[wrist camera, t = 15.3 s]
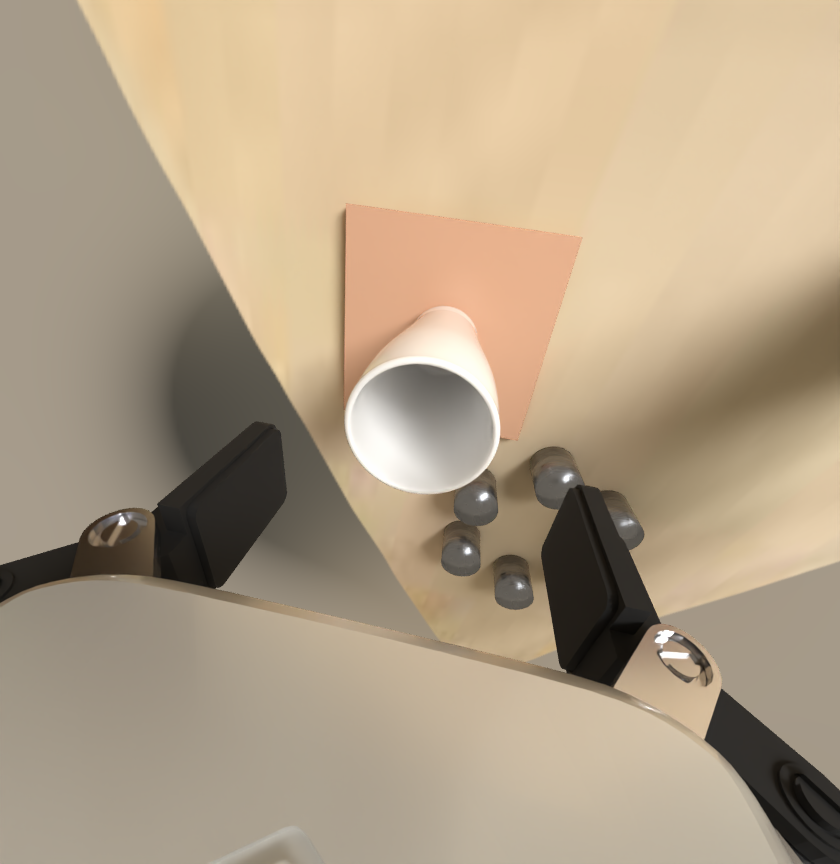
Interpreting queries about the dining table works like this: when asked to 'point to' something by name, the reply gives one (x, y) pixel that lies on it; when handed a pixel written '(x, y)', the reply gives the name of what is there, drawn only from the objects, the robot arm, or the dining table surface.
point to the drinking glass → (426, 407)
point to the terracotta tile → (456, 291)
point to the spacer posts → (480, 507)
